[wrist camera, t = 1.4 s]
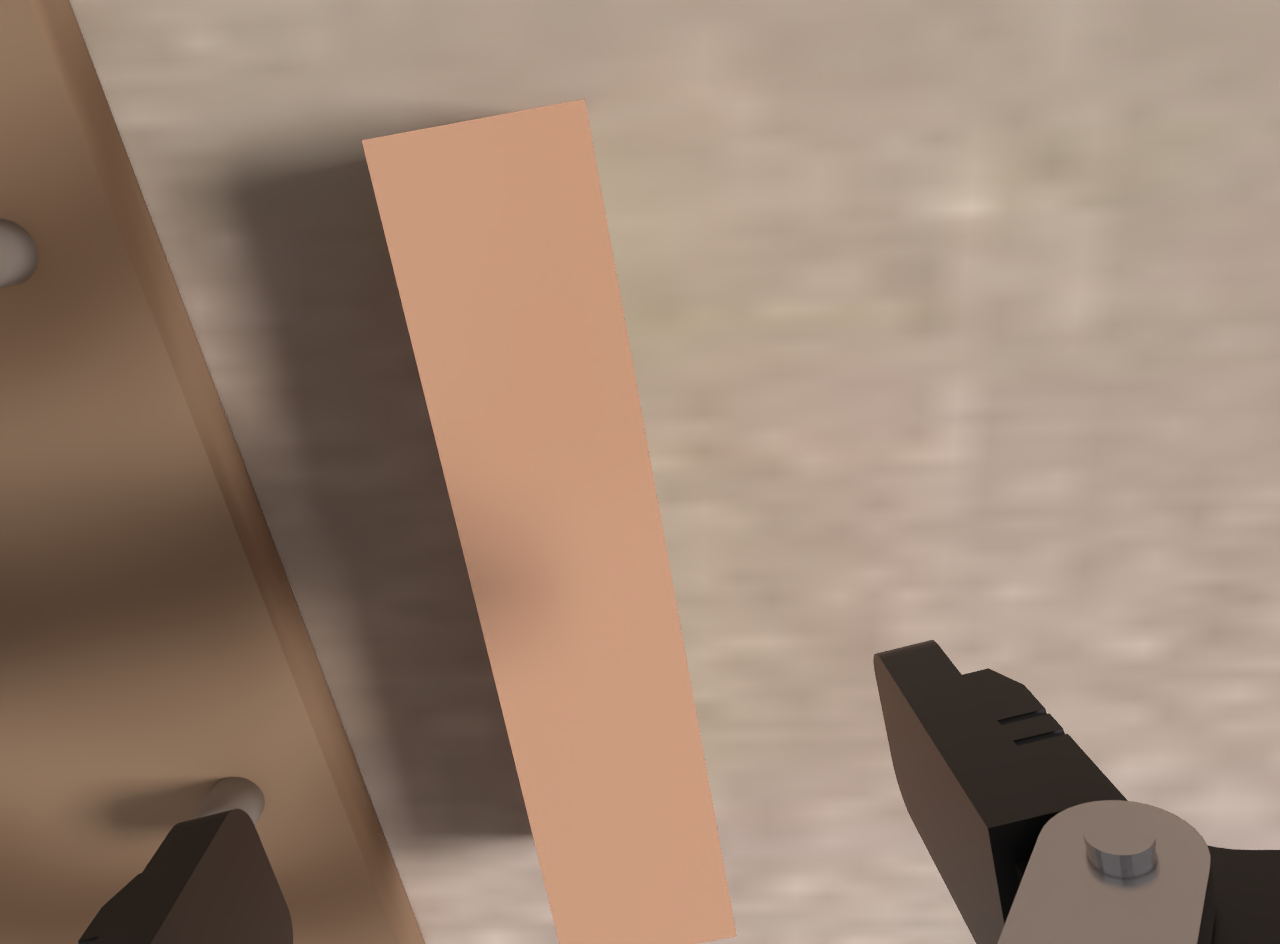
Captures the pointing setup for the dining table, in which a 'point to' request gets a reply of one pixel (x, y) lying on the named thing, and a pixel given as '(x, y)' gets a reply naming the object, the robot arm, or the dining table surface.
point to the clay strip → (557, 513)
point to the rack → (140, 558)
